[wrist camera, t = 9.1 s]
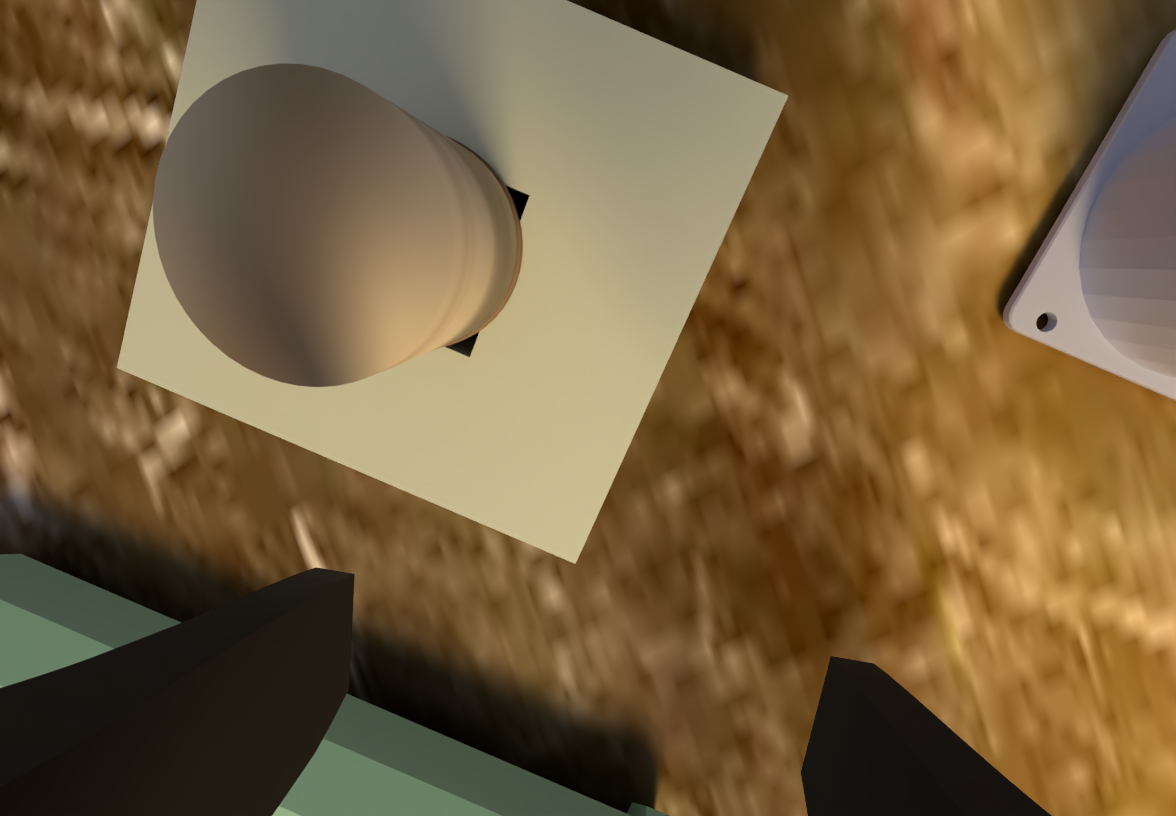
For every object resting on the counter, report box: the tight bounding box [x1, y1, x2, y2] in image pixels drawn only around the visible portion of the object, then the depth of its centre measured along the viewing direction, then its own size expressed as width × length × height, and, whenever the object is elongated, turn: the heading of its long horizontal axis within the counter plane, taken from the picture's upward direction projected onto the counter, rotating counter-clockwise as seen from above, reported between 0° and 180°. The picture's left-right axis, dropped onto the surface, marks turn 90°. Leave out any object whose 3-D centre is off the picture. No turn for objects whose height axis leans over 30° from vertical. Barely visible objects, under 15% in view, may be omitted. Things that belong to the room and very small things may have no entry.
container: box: [0, 554, 669, 816], centre depth 20 cm, size 6×6×25 cm
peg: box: [153, 63, 523, 387], centre depth 14 cm, size 5×5×8 cm
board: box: [117, 0, 788, 564], centre depth 17 cm, size 14×13×2 cm
